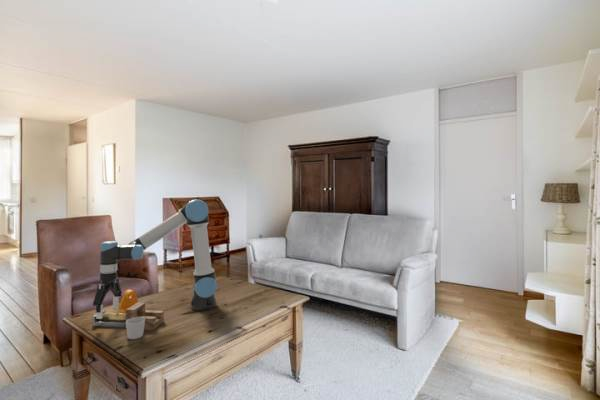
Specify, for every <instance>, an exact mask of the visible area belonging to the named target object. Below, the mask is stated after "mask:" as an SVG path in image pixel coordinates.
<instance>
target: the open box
mask: <svg viewBox="0 0 600 400" xmlns="http://www.w3.org/2000/svg"><path fill="white" fill-rule="evenodd" d="M135 317H142V318H145V324H144V331H145V330H147V331H148V330H149V331H155V329H157V328H158V327H159V326H161V324H163V322H164V321H165V320H164V319H165V310H153V309H152V310H151V309H150V310H147V309H146V302H139V301H138V303H136V304H134V305H133V306H131V307H130V308H128V309H126V321H127V320H128V319H131V318H135Z"/></svg>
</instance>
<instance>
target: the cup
mask: <svg viewBox="0 0 600 400" xmlns="http://www.w3.org/2000/svg"><path fill="white" fill-rule="evenodd" d="M144 324H145V318H142V317H135V318H131V319H128V320H127V321H126V328H125V330H126V337H127V339H129V340H139V339H140V338H142V337H143V336H144V331H145V330H144Z"/></svg>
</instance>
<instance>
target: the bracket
mask: <svg viewBox="0 0 600 400" xmlns="http://www.w3.org/2000/svg"><path fill="white" fill-rule="evenodd" d="M138 302H139V299H138V293H137V292H136V291H134V290H133V289H127V290H125V291H124V292H123V295H122V297H121V300H120V301H119V309H117V313H126V309H128V308H130V307H131V306H133V305H134V304H136V303H138Z"/></svg>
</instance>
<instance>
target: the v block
mask: <svg viewBox="0 0 600 400" xmlns="http://www.w3.org/2000/svg"><path fill="white" fill-rule="evenodd" d="M103 313H106V310H103ZM91 319H92V320H91V321H92V322H91V323H92V326H91V327H95V326H101V327H102V328H103V327H104V328H122V329H123V328H125V329H126V322H109V321H102V320H101V319H96V314H94V315H93V316H92V318H91ZM101 327H100V328H101Z"/></svg>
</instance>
